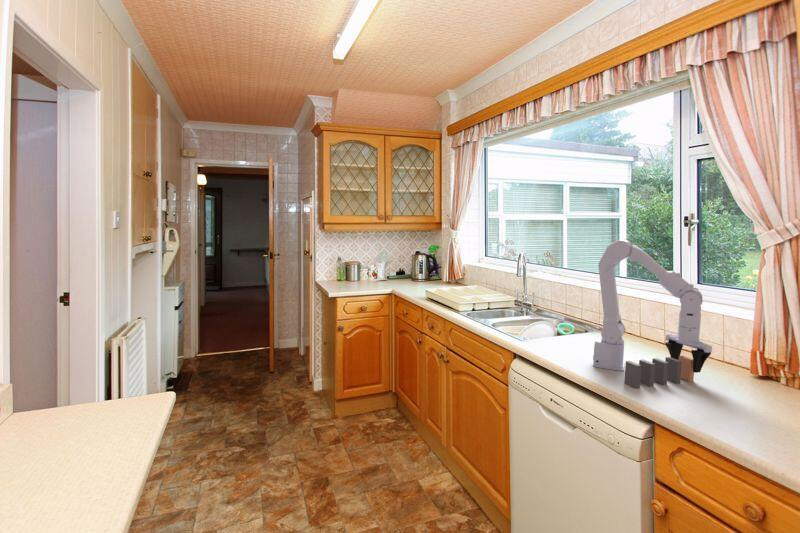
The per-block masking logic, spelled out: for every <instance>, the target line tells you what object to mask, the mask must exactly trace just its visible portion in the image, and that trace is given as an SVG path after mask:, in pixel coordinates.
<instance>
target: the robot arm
mask: <svg viewBox="0 0 800 533" xmlns="http://www.w3.org/2000/svg"><path fill="white" fill-rule="evenodd" d="M627 258H628V259H627ZM624 259H627V260H628V261H631V262H636V263H639V264H640V265H642V266H643V267H644V268H645V269H647V270H648V271H649V272H651V273H652V274H653V275H655V277H657V278H658V284H659V285H660V286H661V287H663V288H664V289H665V290H666V291H667V292H668V293H670V294H671V295H672V296H673V297H674V298H678V299H679V302H680V310H679V311H678V312H679V313H678V314H679V315H678V326H677V335H676V334H673V333H667V334H665V340H666V341H667V342H665V344H664V345H665V347H666V348H667V350H668V353H669V357H671V358H674V359H677V360H678V359H679V356H681V353H682V349H683V347H684V346H686V347H688V348H693V349H692V350H691V351H690V352H691V356H692V359H693V372H694V374H695V373H696V374H697V373H701V370H702V368H703V366H704V364H705V363H706V361H707V359H708V357H710V355H711V354H712V352H713V346H712V345H709V344H707V343H704V342H703V341H701V340H700V335H701V334H700V332H701V320H702V313H701V311H702V304H703V302H704V300H703V294H702V293H701V291H700V290H699V288H697V287H695V286H694V284H692V283H689V282H688V281H686V280H685V279H684V278H683V277H682V276H681V275H682V274H681V273H680V272H678V271H677V272H676V271H674V270H666V269H665V268H664V267H663V266H662V265H661V264H659V263H658V262H657V261H656V260H655V259H654V258H653V257H651V255H649V254H648V253H647V252H645V250H643V249H642V248H641V247H639V246H637V245H636V244H633V243H632V242H631V241H630V240H628V239H625V238H624V239H619V240H615V241H613V242H611V243H610V244H609V245H608V246H607V247H606V248H605V250H604V253H603V255H602V256H601V258H600V260H599V262H598V274H599V286H600V295H601V301H602V303H601V304H602V310H603V318H602V328H601V330H600V334H601V338H600V339H595V340H594V346H593V355H592V361H593V362H592V367H594V368H600V369H606V370H612V371H621V372H625V365H626V363H624V355H625V354H624V352H625V340H624V339H623V337H622V336H624V335H625V333H626V327H625V325H624V323H623V320H622V317H621V314H620V310H619V301H618V292H617V282H616V272H615V268H616V267H617V266H618V265H619V264H620V263H621V261H623V260H624Z"/></svg>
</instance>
